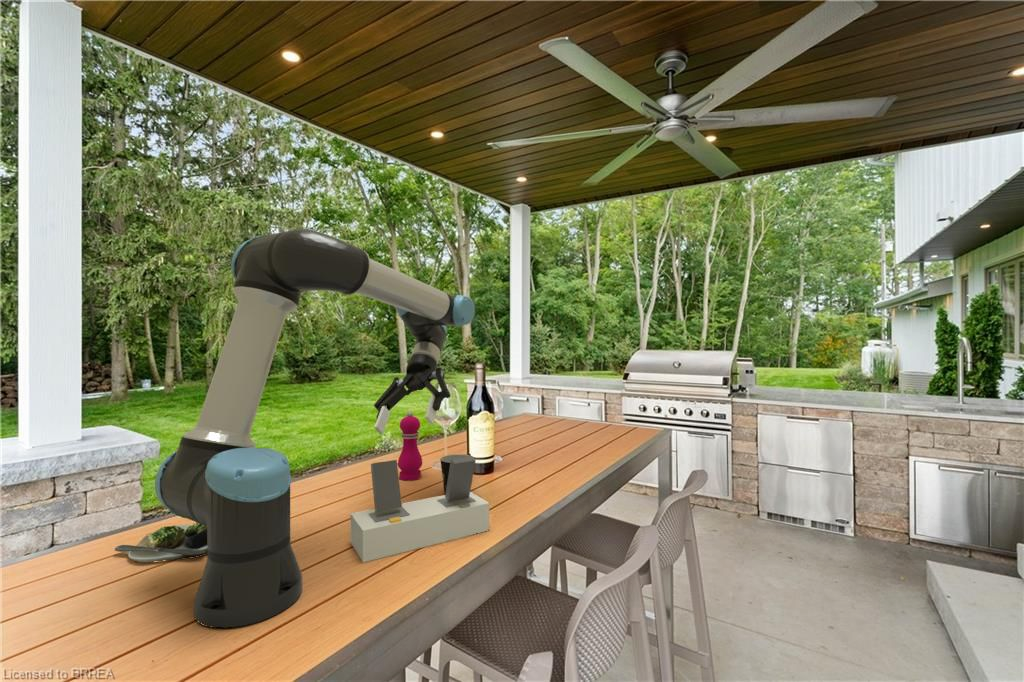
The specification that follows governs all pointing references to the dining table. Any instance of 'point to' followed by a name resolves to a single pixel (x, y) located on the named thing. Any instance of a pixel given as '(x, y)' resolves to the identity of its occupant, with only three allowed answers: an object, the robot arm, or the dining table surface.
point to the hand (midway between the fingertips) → (403, 425)
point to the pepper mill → (410, 449)
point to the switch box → (417, 525)
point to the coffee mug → (448, 467)
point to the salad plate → (169, 544)
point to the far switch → (460, 478)
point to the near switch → (386, 485)
